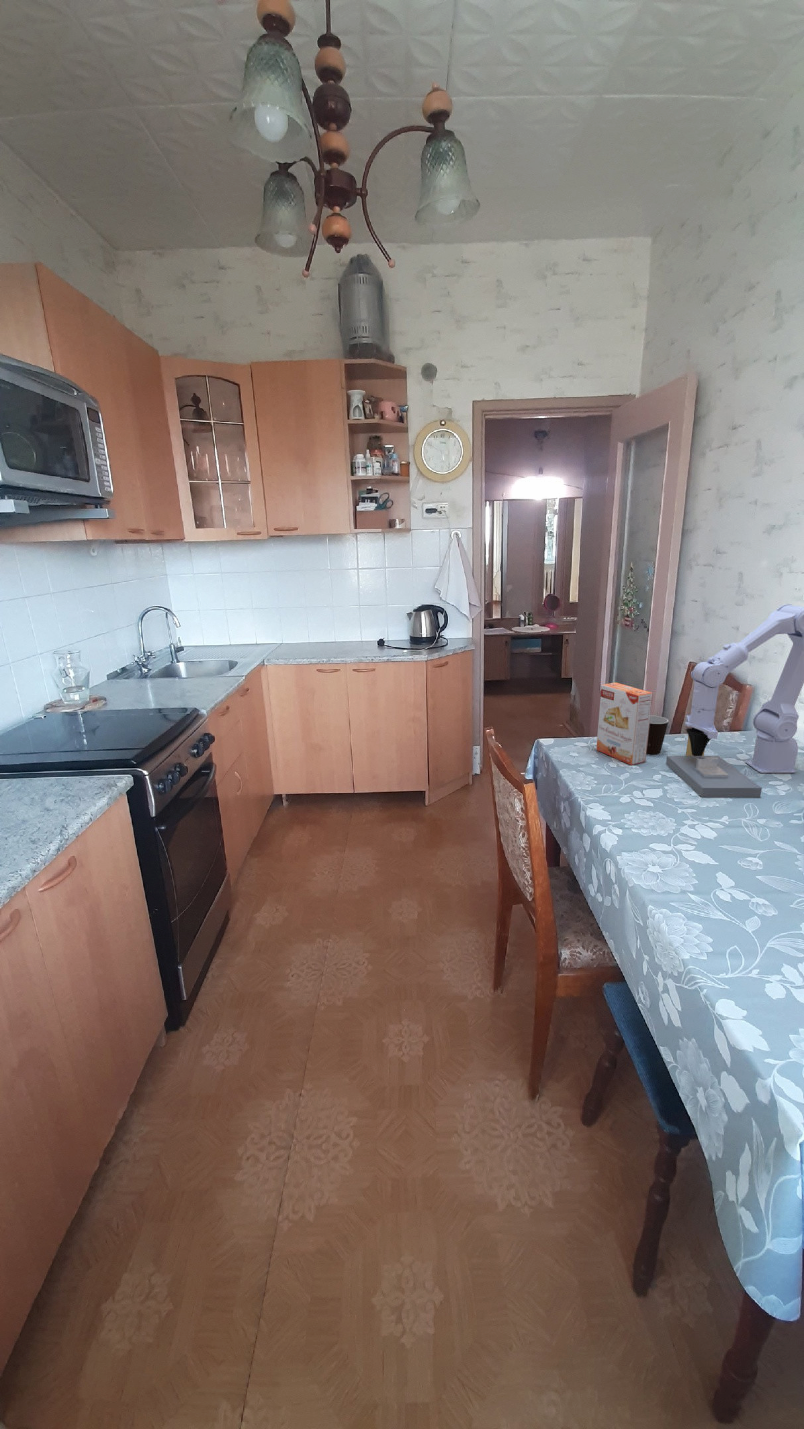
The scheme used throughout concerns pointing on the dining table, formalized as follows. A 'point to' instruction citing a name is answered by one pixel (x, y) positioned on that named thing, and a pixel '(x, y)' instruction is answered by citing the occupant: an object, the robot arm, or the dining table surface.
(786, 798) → the dining table surface
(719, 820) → the dining table surface
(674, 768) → the socket plate
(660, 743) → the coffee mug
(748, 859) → the dining table surface
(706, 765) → the panel
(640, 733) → the cracker box
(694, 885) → the dining table surface
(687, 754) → the plug
